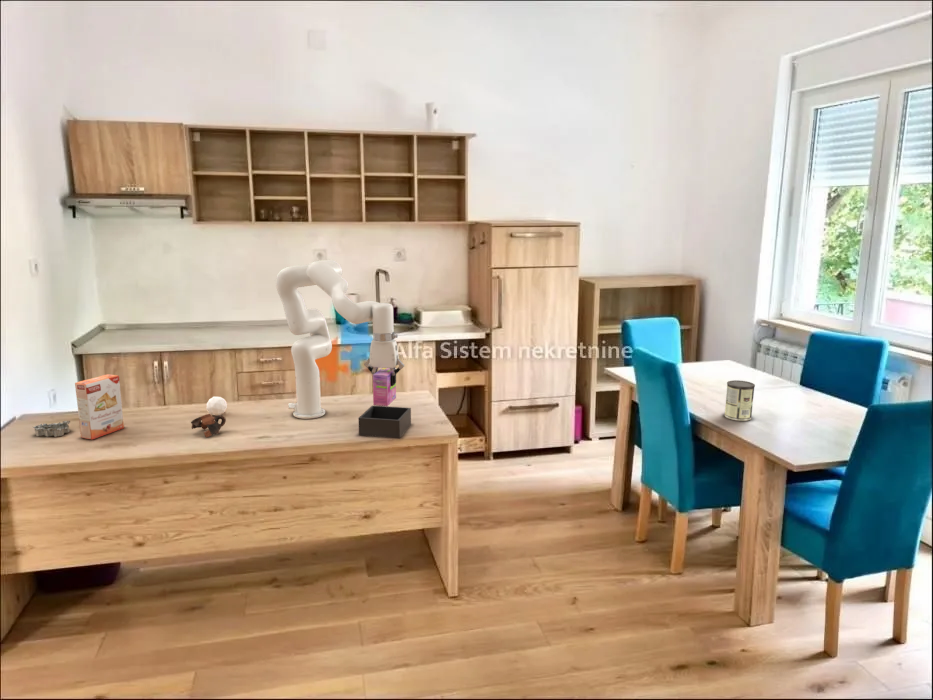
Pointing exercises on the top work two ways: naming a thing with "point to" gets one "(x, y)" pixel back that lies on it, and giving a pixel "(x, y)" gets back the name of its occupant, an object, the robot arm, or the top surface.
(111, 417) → the cracker box
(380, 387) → the box
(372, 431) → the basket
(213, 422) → the pottery mug
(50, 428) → the egg carton
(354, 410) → the top surface
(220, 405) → the ball
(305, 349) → the robot arm
